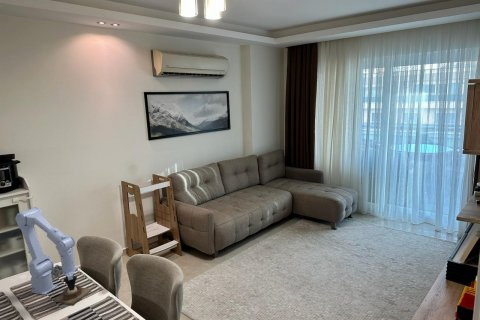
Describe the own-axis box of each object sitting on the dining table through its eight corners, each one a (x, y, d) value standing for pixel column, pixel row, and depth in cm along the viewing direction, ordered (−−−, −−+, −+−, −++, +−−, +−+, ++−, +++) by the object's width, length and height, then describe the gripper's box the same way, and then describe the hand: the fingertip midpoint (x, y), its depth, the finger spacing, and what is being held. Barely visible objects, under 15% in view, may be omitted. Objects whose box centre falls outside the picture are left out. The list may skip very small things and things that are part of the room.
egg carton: (51, 282, 176) (50, 275, 175) (41, 279, 178) (40, 272, 177) (67, 271, 185) (66, 265, 185) (58, 269, 188) (57, 263, 187)
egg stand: (53, 301, 158) (52, 295, 157) (72, 287, 169) (71, 281, 168) (73, 305, 154) (72, 299, 154) (91, 291, 166) (90, 284, 165)
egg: (65, 296, 160) (64, 289, 158) (72, 289, 164) (71, 282, 162) (73, 299, 159) (72, 292, 157) (79, 292, 163) (79, 286, 161)
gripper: (78, 265, 154) (81, 290, 157) (75, 253, 166) (78, 276, 169) (61, 269, 150) (65, 295, 153) (60, 257, 163) (63, 281, 165)
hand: (71, 286), depth 161 cm, fingers open, 7 cm apart
